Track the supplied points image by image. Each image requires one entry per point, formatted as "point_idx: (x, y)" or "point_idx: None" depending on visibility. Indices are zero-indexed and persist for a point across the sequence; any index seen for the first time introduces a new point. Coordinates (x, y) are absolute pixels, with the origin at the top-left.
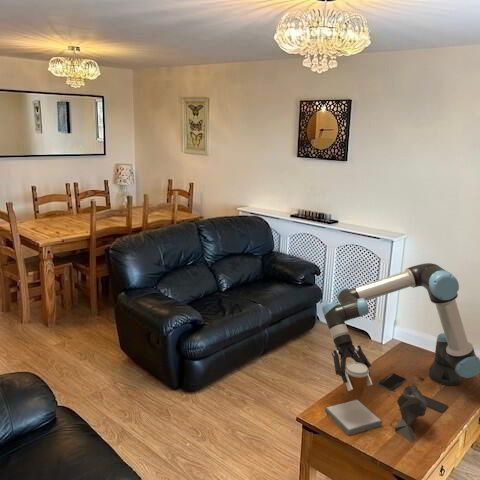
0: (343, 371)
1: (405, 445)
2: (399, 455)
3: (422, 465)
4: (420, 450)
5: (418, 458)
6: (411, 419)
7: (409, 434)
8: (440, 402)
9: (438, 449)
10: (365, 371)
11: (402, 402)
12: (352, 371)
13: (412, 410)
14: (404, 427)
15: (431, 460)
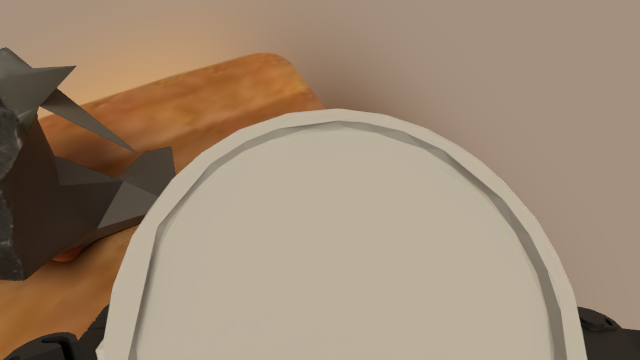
0: (607, 336)
1: (208, 141)
2: (263, 113)
3: (229, 70)
4: (180, 111)
5: (216, 90)
6: (88, 171)
7: (152, 162)
8: None
9: (119, 99)
10: (279, 119)
11: (34, 211)
12: (502, 181)
13: (49, 157)
14: (140, 187)
15: (186, 75)
